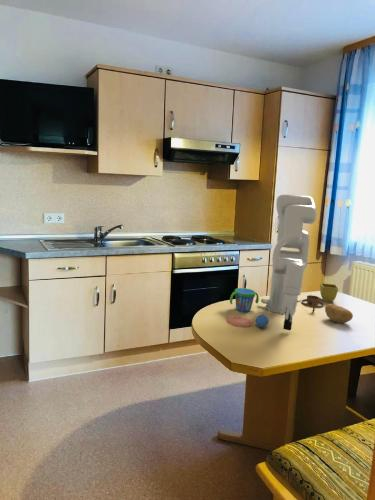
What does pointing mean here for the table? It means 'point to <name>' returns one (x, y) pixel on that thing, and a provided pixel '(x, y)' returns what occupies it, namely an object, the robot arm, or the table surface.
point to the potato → (338, 313)
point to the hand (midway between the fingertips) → (287, 329)
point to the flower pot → (328, 291)
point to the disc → (240, 321)
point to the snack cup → (244, 299)
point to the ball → (262, 320)
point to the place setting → (312, 302)
